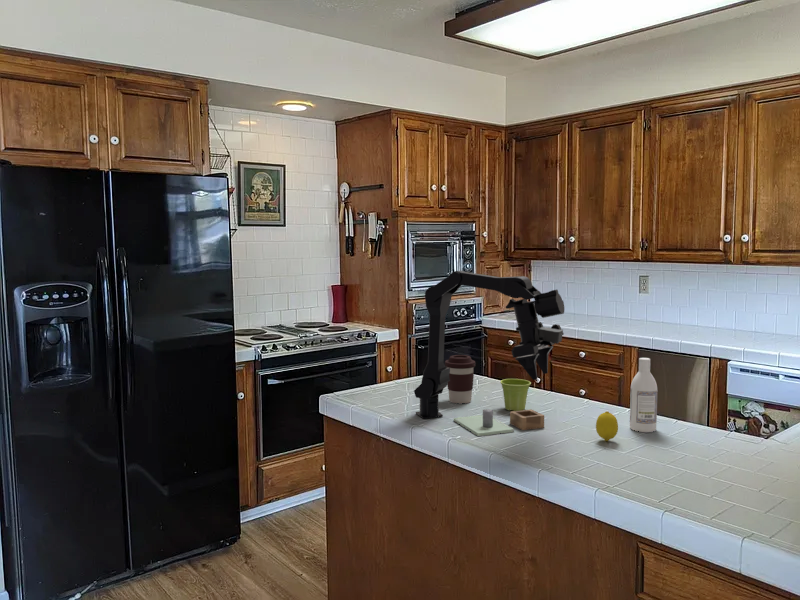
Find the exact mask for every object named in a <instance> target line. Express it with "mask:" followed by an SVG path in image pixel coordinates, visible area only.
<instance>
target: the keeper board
mask: <svg viewBox="0 0 800 600" xmlns="http://www.w3.org/2000/svg"><path fill="white" fill-rule="evenodd" d="M453 422H455V423H456V422H457V423H456V424H458V425H459V424H460V425H459V426H461V427H463V428H464V427H465V428H464V429H466V430H467V429H468V430H467V431H469V432H470V431H471V432H470V433H472V434H474V435H475V436H477V437H482V436H484V437H485V436H491V435H492V436H493V435H499V434H500V433H501V434H508V433H515V432H514V431H515V429H514V428H513V427H511V426H509V425H508V424H505V423H504V422H502V421H500V420H498V419H496V418H494V410H493V409H488V408H486V409H482V414H479V415H471V416H470V415H469V416H461V417H454V418H453Z"/></svg>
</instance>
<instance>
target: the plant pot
mask: <svg viewBox="0 0 800 600" xmlns="http://www.w3.org/2000/svg"><path fill="white" fill-rule="evenodd" d="M500 384H501V388H502V393H503V400H504V409H506V410H507V411H521V410H526V404H527V397H528V393H529V392H528V391H529V389H530V386H531V384H532V382H531V381H530V380H526V379H521V378H505V379H502V380H500Z"/></svg>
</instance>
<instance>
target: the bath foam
mask: <svg viewBox="0 0 800 600" xmlns="http://www.w3.org/2000/svg"><path fill="white" fill-rule="evenodd" d="M629 394H630V397H629V399H630V400H629V403H630V404H629V428H630V429H631V430H632V431H634V430H635V431H634V432H638V431H639V432H638V433H653V431H654V432H655V431H657V420H658V419H657V417H658V416H657V415H658V385H657V381H656V379H655V377H654V376H653V374H652V373H651V358H650V357H639V358H638V371H637V373H636V374H635V375H634V377H633V378H632V381H631V384H630V393H629Z"/></svg>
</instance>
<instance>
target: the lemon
mask: <svg viewBox="0 0 800 600" xmlns="http://www.w3.org/2000/svg"><path fill="white" fill-rule="evenodd" d="M595 429H596V433H597V435H598V436H599V438H601V439H603V440H604V441H605V442H608V441H610V440H612V439H614V438H615V437H616V436H617V434H618V431H619V423H618V419H617V417H616V416H615V415H614V414H613V413H611V412H610V411H605V412H602V413H601V414H599V415H598V417H597V418H596V424H595Z"/></svg>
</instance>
